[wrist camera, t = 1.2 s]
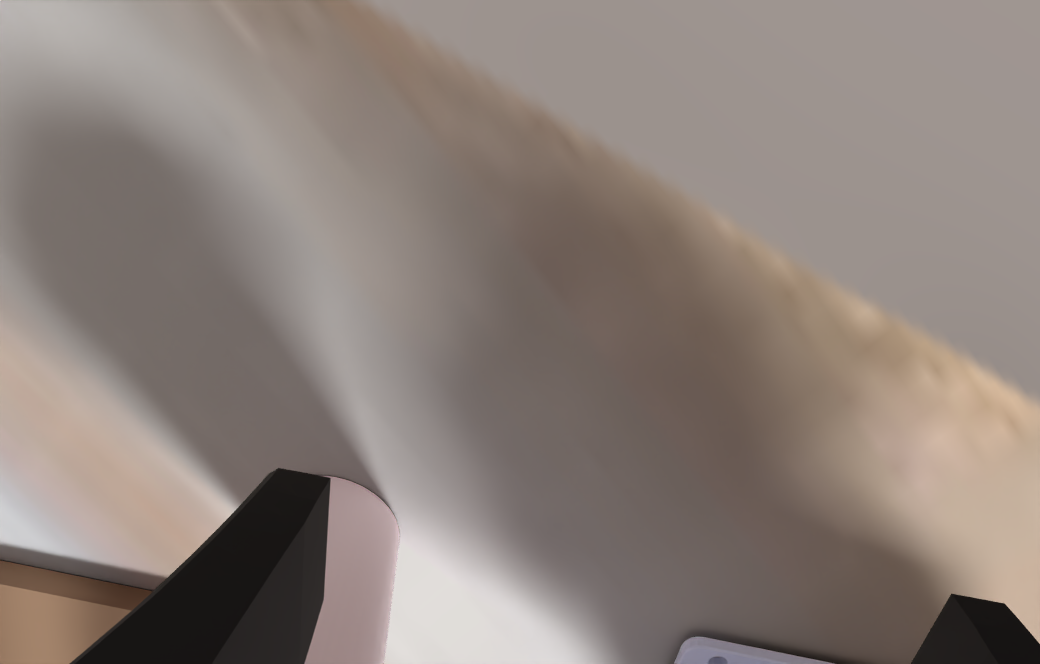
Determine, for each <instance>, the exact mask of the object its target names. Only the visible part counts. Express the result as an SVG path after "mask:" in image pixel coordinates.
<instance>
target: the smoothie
mask: <svg viewBox="0 0 1040 664" xmlns="http://www.w3.org/2000/svg"><path fill="white" fill-rule="evenodd" d="M324 477H329V478H331V481H330V499H329V516H328V534H327V552H326V569H325V587H324V601H323V604H322V607H321V611H320V614H319V617H318V621H317V624H316V627H315V631H314V634H313V638H312V641H311V644H310V647H309V651H308V654H307V657H306V660H305V664H384V659H385V651H386V644H387V636H388V628H389V620H390V612H391V604H392V596H393V589H394V581H395V573H396V565H397V557H398V549H399V541H400V532H399V527H398V523H397V521H396V519H395V517H394V515H393V513H392V511H391V510H390V509H389V507H388V506H387V505H386V504H385V503H384V502H383V501H382V500H381V499H380V498H379V497H378V496H376V495H375V494H374V493H372V492H371V491H370V490H368V489H366V488H364V487H363V486H361V485H358V484H356V483H354V482H351V481H348V480H345V479H341V478H337V477H331V476H324Z"/></svg>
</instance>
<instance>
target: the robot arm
mask: <svg viewBox="0 0 1040 664" xmlns="http://www.w3.org/2000/svg"><path fill="white" fill-rule="evenodd" d="M330 481H331V478H329V477H324V476H318V475H313V474H308V473H302V472H297V471H291V470H286V469H281V468H278V469H276V470H275V471H273V472H271V473H269V474H268V475H267V477H266V478H265V479H264V480H263V481H262V482H261V483H260V484H259V486H258V487H257V488H256V489H255V490H254V491H253V492H252V493H251V494H250V495H249V496H248V498H247V499H246V500H245V501H244V502H243V503H242V504H241V505H240V506H239V507H238V508H237V509H236V510H235V512H234V513H233V514H232V515H231V516H230V517H229V518H228V519H227V520H226V521H225V522H224V523H223V524H222V525H221V526H220V527H219V528H218V529H217V530H216V531H215V532H214V533H213V534H212V535H211V536H210V537H209V538H208V539H207V540H206V541H205V542H204V543H203V544H202V545H201V546H200V547H199V548H198V549H197V550H196V551H195V552H194V553H193V554H192V555H191V556H190V557H189V558H188V559H187V560H186V561H185V562H184V563H183V564H181V565H180V566H179V567H178V568H177V569H176V570H175V571H174V572H173V573H172V574H171V575H170V576H169V577H168V578H167V579H166V580H165V581H163V582H162V583H161V584H160V585H159V586H158V587H157V588H156V589H155V590H154V591H153V592H152V593H151V594H150V595H149V596H148V597H146V598H145V599H144V600H143V601H142V602H141V603H140V604H139V605H138V606H136V607H135V608H134V609H133V610H132V611H131V612H130V613H128V614H127V615H126V616H125V617H124V618H123V619H121V620H120V621H119V622H118V623H117V624H116V625H114V626H113V627H112V628H111V629H110V630H108V631H107V632H106V633H105V634H104V635H103V636H101V637H100V638H99V639H98V640H97V641H96V642H94V643H93V644H92V645H91V646H90V647H89V648H87V649H86V650H85V651H84V652H83V653H82V654H80V655H79V656H78V657H77V658H76V659H74V660H73V661H72V662H71V663H70V664H305V660H306V657H307V654H308V651H309V647H310V644H311V641H312V638H313V634H314V631H315V627H316V624H317V621H318V617H319V614H320V611H321V607H322V604H323V601H324V587H325V569H326V552H327V534H328V516H329V499H330ZM674 664H835V663H830V662H825V661H820V660H815V659H810V658H805V657H800V656H795V655H790V654H785V653H780V652H775V651H771V650H766V649H761V648H756V647H751V646H746V645H741V644H736V643H731V642H726V641H721V640H716V639H711V638H706V637H692V638H689V639H688V640H686V641H684V643H683V644H682V645H681V648H680V650H679V653H678V655H677V657H676V660H675V662H674ZM911 664H1040V644H1039V643H1038V642H1037V640H1036V639H1035V638H1034V637H1033V636H1032V634H1031V633H1030V632H1029V631H1028V630H1027V629H1026V627H1025V626H1024V625H1023V624H1022V623H1021V622H1020V620H1019V619H1018V618H1017V617H1016V616H1015V615H1014V614H1013V613H1012V611H1011V610H1010V609H1009V608H1008V607H1007V606H1006V605H1005V604H1004V603H998V602H993V601H988V600H982V599H977V598H972V597H966V596H961V595H956V594H951V596H950V597H949V599H948V601H947V603H946V604H945V606H944V608H943V609H942V611H941V613H940V615H939V616H938V618H937V620H936V621H935V623H934V625H933V627H932V628H931V630H930V632H929V633H928V635H927V637H926V639H925V640H924V642H923V644H922V646H921V647H920V649H919V651H918V652H917V654H916V656H915V658H914V659H913V661H912V663H911Z"/></svg>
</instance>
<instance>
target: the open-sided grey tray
mask: <svg viewBox="0 0 1040 664" xmlns="http://www.w3.org/2000/svg"><path fill="white" fill-rule="evenodd" d="M152 592H153V591H149V590H144V589H139V588H134V587H129V586H124V585H120V584H115V583H110V582H105V581H100V580H95V579H90V578H85V577H80V576H75V575H70V574H65V573H60V572H55V571H50V570H45V569H41V568H36V567H31V566H26V565H21V564H16V563H11V562H6V561H1V560H0V664H70V663H71V662H72V661H73V660H74V659H76V658H77V657H78V656H79V655H80V654H82V653H83V652H84V651H85V650H86V649H87V648H89V647H90V646H91V645H92V644H93V643H94V642H96V641H97V640H98V639H99V638H100V637H101V636H103V635H104V634H105V633H106V632H107V631H108V630H110V629H111V628H112V627H113V626H114V625H116V624H117V623H118V622H119V621H120V620H121V619H123V618H124V617H125V616H126V615H127V614H128V613H130V612H131V611H132V610H133V609H134V608H135V607H136V606H138V605H139V604H140V603H141V602H142V601H143V600H144V599H145V598H146V597H148V596H149V595H150V594H151V593H152Z"/></svg>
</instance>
